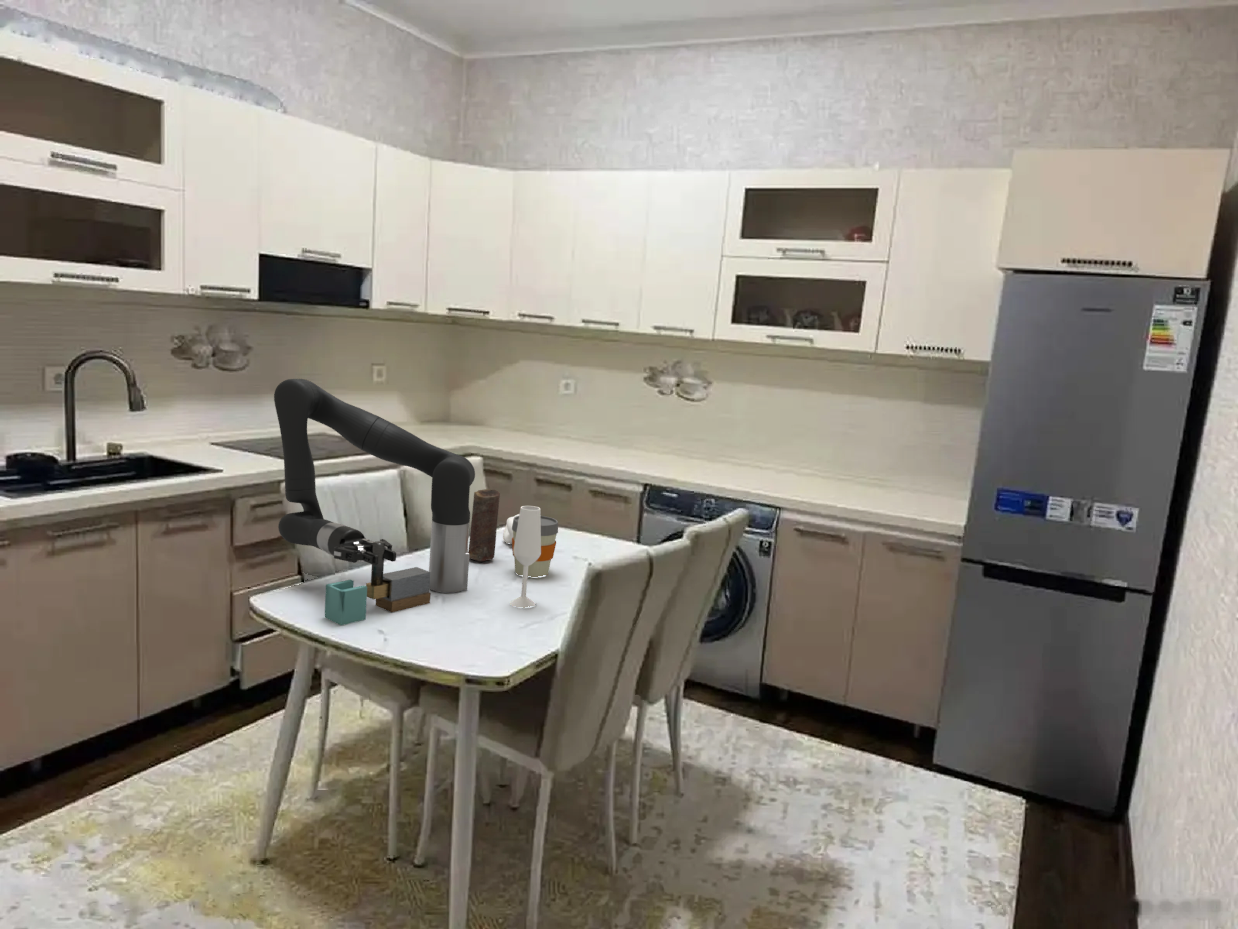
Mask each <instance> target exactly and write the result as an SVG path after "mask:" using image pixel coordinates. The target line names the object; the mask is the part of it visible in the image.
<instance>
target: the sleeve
mask: <svg viewBox="0 0 1238 929" xmlns="http://www.w3.org/2000/svg"><path fill="white" fill-rule="evenodd" d="M383 580H386V581H388V582H390V595H389V596H387V597H383V598H378V599H375V607H379V609H380V608H381V609H383V610H384V611H386V612H389V613H391V614H392V613H395V612H401V611H404V610H409V609H412V608H416V607H420V606H423V605H428V604H431V596H432V595H431V592H430V589H429V588H430V572H429V570H426V569H423V568H421V567H418V566H415V567H410V568H405V569H401V570H396V571H391V572H386V573H383Z"/></svg>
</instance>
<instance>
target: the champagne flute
mask: <svg viewBox="0 0 1238 929" xmlns="http://www.w3.org/2000/svg"><path fill="white" fill-rule="evenodd" d="M541 511H542V510H541V508H540V507H539V506H534V505H522V506H520V509H519V514H520V515H519V520H518V526H517V532H516V538H515V544H514V549H513V551H512V555H513V554H514V556H515V557H516V559H517V560H518V561H519V562H520V563H521V564H522V565H523V566H524V567H523V577H522V581H521V592H520V594H521V595H520V597H517V598H515V599H512V600H511V601H509V603H510V604H509V606H511V605H512V606H511V607H513V606H516V607H523V608H525V607H528V606H529V607H530V606H535V603H536V602H535V601H534V600H532V599H531V598H528V596H527V591H528V590H527V588H528V578H527V577H528V566H529V565H531V564H533V563H534V562H535V561H536V560H537V559H538V558H539V557H540V555H541V516H542V515H541ZM514 556H513V557H514ZM534 602H535V603H534Z"/></svg>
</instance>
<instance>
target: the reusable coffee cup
mask: <svg viewBox="0 0 1238 929" xmlns="http://www.w3.org/2000/svg"><path fill="white" fill-rule="evenodd" d="M513 517H514V516H513ZM518 520H519V516H516V517H514V519H513V525H512V530H513V538H512V544H511V546H512V547H511V548H512V552H513V549H514V544H515V538H516V532H517V526H518ZM558 533H559V521H558V520H557V519H556V518H553V517H550V516H545V515H541V555H540V557H539V558H538V559H537V560H536V561H535V562H534V563H533V564H531V565H529V566H528V576H531V577H538V576H543V575H547V574H548V575H549V572H550V568H551V567H550V566H551V562H552V560H553V559H554V555H555V550H556V546H557V540H556V538H557V535H558ZM512 556H513V558H514V573H515V572H516V573H517V574H518V575H523V567H524V566H523V565H522V564H521V563H520V562H519V561H518V560H517V559H516V557H515V556H514V554H513V553H512ZM518 575H517V576H518ZM548 575H547V576H548Z"/></svg>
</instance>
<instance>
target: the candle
mask: <svg viewBox="0 0 1238 929" xmlns="http://www.w3.org/2000/svg"><path fill="white" fill-rule="evenodd" d="M500 495H501V492H500V491H498V490H496V489H490V488H483V489H478V490H476V491H474V492H473V502H472V512H471V520H470V521H471V523H470V531H469V540H468V552H469V560H471V559H472V560H473V561H475V562H479V563H480V562H485V561H490V560H493V559H494V558H495V554H496V553H495V552H496V543H497V542H496V540H497V529H498V521H499V520H498V519H499V508H500V499H501V498H500V497H501V496H500Z"/></svg>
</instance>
